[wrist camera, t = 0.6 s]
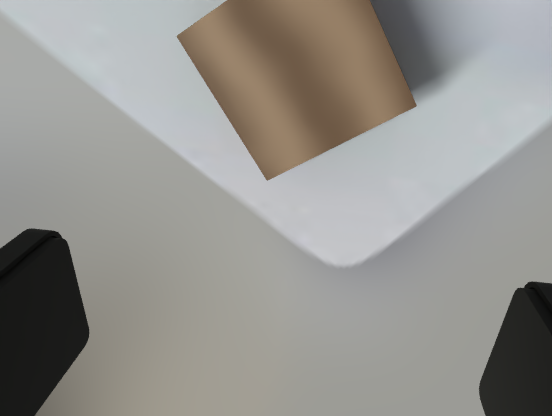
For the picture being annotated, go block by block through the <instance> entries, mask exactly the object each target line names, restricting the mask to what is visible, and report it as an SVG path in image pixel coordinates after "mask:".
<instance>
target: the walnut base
mask: <svg viewBox="0 0 552 416" xmlns="http://www.w3.org/2000/svg"><path fill="white" fill-rule="evenodd" d="M177 38H178V39H179V41H180V43H181V44H182V46H183V47H184V49H185V51H186V52H187V54H188V55H189V57H190V59H191V60H192V62H193V63H194V65H195V67H196V68H197V70H198V71H199V73H200V75H201V76H202V78H203V79H204V81H205V82H206V84H207V86H208V87H209V89H210V90H211V92H212V94H213V95H214V97H215V98H216V100H217V102H218V103H219V105H220V106H221V108H222V110H223V111H224V113H225V114H226V116H227V118H228V119H229V121H230V122H231V124H232V126H233V127H234V129H235V130H236V132H237V134H238V135H239V137H240V138H241V140H242V142H243V143H244V145H245V146H246V148H247V150H248V151H249V153H250V154H251V156H252V157H253V159H254V161H255V162H256V164H257V165H258V167H259V169H260V170H261V172H262V173H263V175H264V177H265V178H266V180H267V181H268V180H270V179H272V178H274V177H276V176H278V175H280V174H282V173H284V172H286V171H288V170H290V169H292V168H294V167H296V166H298V165H300V164H302V163H304V162H306V161H308V160H310V159H312V158H314V157H316V156H318V155H320V154H322V153H324V152H326V151H328V150H330V149H332V148H334V147H336V146H338V145H340V144H342V143H344V142H346V141H348V140H350V139H352V138H354V137H356V136H358V135H360V134H362V133H364V132H366V131H368V130H370V129H372V128H374V127H376V126H378V125H380V124H382V123H384V122H386V121H388V120H390V119H392V118H394V117H396V116H398V115H400V114H402V113H404V112H406V111H408V110H410V109H412V108H414V107H416V106H417V105H416V103H415V101H414V98H413V96H412V94H411V92H410V90H409V87H408V85H407V83H406V81H405V78H404V76H403V74H402V72H401V69H400V67H399V65H398V63H397V60H396V58H395V56H394V54H393V51H392V49H391V47H390V45H389V42H388V40H387V38H386V36H385V33H384V31H383V29H382V27H381V24H380V22H379V20H378V18H377V15H376V13H375V11H374V9H373V7H372V4H371V2H370V0H227V1H226V2H224V3H223V4H221V5H220V6H218V7H217V8H216V9H214V10H213V11H211V12H210V13H208V14H207V15H206V16H204V17H203V18H201V19H200V20H199V21H197V22H196V23H194V24H193V25H191V26H190V27H189V28H187V29H186V30H184V31H183V32H181V33H180V34H179V35H177Z"/></svg>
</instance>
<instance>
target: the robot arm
mask: <svg viewBox="0 0 552 416" xmlns="http://www.w3.org/2000/svg"><path fill="white" fill-rule="evenodd" d="M88 338H89V327H88V323H87V319H86V315H85V311H84V306H83V303H82V298H81V295H80V290H79V286H78V282H77V278H76V274H75V270H74V266H73V262H72V258H71V254H70V250H69V246H68V243H67V241H66V240H65V239H63V238H62V237H61V235H60V234H59V233H58V232H56V231H51V230H40V229H27V230H25V231H23V232H22V233H21V234H19V235H18V236H17V237H16V238H14V239H13V240H11V241H10V242H9V243H7V244H6V245H5V246H3V247H2V248H1V249H0V416H35V414H36V413H37V411H38V410H39V409H40V407H41V406H42V405H43V403H44V402H45V400H46V399H47V398H48V396H49V395H50V394H51V392H52V391H53V389H54V388H55V387H56V385H57V384H58V382H59V381H60V380H61V379H62V377H63V375H64V374H65V373H66V372H67V370H68V369H69V368H70V366H71V365H72V363H73V362H74V361H75V359H76V358H77V357H78V355H79V354H80V352H81V351H82V349H83V348H84V347H85V345H86V343H87V341H88ZM479 394H480V400H481V403H482V406H483V409H484V412H485V415H486V416H552V284H551V283H542V282H528V283H527V284H526V285H525V287H524V288H518V289H517V290H516V291H515V293H514V295H513V297H512V300H511V303H510V305H509V308H508V310H507V313H506V316H505V318H504V321H503V323H502V326H501V329H500V332H499V334H498V337H497V339H496V342H495V345H494V347H493V350H492V352H491V355H490V357H489V360H488V363H487V365H486V368H485V370H484V373H483V376H482V379H481V381H480V386H479Z"/></svg>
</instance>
